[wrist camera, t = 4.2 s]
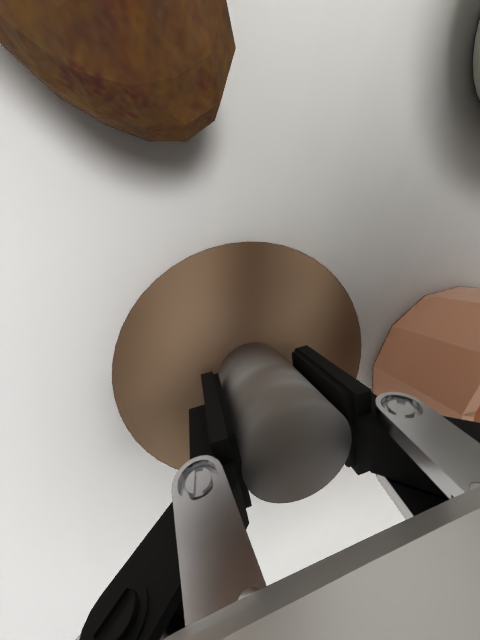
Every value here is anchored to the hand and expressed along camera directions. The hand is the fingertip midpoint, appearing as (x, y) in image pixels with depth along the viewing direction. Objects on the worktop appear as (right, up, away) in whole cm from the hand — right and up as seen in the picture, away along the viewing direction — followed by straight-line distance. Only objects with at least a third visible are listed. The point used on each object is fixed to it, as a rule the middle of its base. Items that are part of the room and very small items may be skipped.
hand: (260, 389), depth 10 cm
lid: (-1, +1, +2) cm, 2 cm away
